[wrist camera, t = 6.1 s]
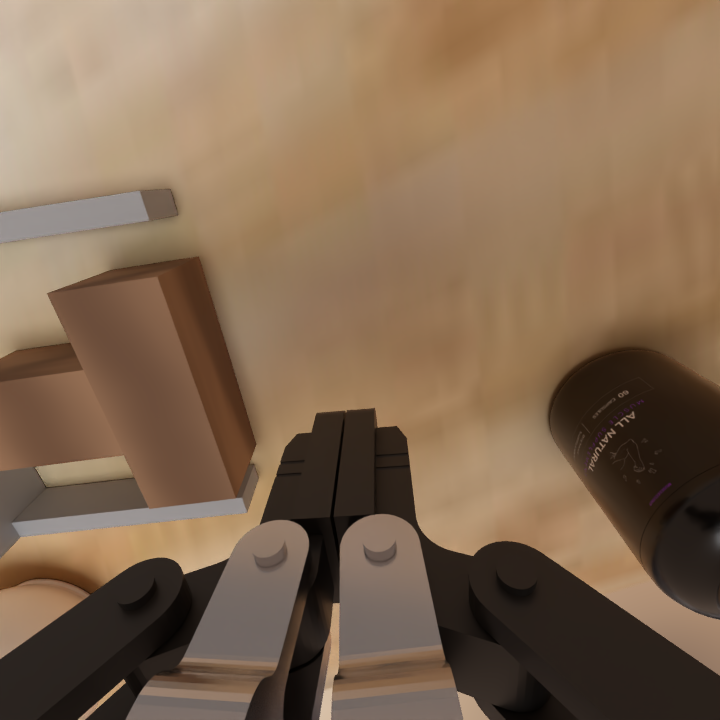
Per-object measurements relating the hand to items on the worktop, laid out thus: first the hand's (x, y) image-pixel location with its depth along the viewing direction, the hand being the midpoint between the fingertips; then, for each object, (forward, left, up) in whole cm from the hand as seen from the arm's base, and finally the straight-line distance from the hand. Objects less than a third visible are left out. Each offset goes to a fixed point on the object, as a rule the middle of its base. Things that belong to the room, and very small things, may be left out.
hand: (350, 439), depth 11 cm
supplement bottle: (-12, +6, -9) cm, 17 cm away
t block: (+11, +1, -9) cm, 14 cm away
